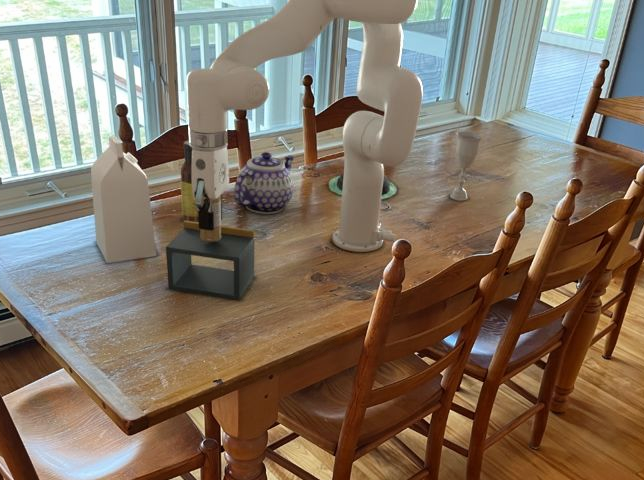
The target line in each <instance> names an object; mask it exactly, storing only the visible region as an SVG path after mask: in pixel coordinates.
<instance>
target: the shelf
mask: <svg viewBox="0 0 644 480" xmlns="http://www.w3.org/2000/svg"><path fill="white" fill-rule="evenodd" d="M200 235H201V229H200V228H199V222H192V221H185V220H183V228H182V229H181V230H180V231H179V232H178V233H177V234H176V235H175V236H174V237H173V238H172V240H171V241H170V242H169V243H168V244H167V245H166V246H165V255H166V271H167V285H168V290H171V291H177V292H184V293H190V294H195V295H196V294H197V295H203V296H209V297H216V298H221V299H222V298H223V299H228V300H235V301H240V300H241V299H242V297H243V295H245V292H246V291H247V290H248V288H249V286H250V285H251V283H252V282H253V280H254V279H255V230H254V229H250V228H249V229H248V228H240V227H234V226H228V225H221V239H220V240H218V241H214V242H207V241H204V240H202V239H201V237H200ZM192 256H195V257H203V258H209V259H214V260H215V259H216V260H223V261H228V262H233V270H232V269H225V268H218V267H211V266H205V265H197V264H193V263H192Z"/></svg>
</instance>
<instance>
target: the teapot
mask: <svg viewBox="0 0 644 480" xmlns="http://www.w3.org/2000/svg"><path fill="white" fill-rule="evenodd" d="M272 156H273V155H272V154H271V153H270V152H268V151H264V152H262V153H261V154H260V156H256V157H252V158H249V159H248V160H247V161H246V164H245V165H244V166H243V167H242V168H241V169H240V170H239V171H238V174H237V178H236V180H235V184H234V188H233V189H234V190H233V197H234V201H235V202H236V204H237V205H239V206H240V207H245V208H246V209H247V210H249V211H251V212H253V213H255V214H261V215H269V214H270V215H272V214H277V213H279V212H281V211H282V210H283V208H284V207H286V206H287V205H288V204H290V202H291V200H292V198H293V194H294V179H293V175H292V173H291V172H292V171H291V170H292V164H293V160H294V159H295V156H294V155H289V154H287V155H285V157H284V158H283V160H282V159H279V158H276V157H272Z"/></svg>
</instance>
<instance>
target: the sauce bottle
mask: <svg viewBox="0 0 644 480" xmlns="http://www.w3.org/2000/svg"><path fill="white" fill-rule="evenodd" d="M183 150H184V162H183V164H182V165H181V167H180V198H181V199H180V200H181V214H182V219H183V221H192V222H199V219H198V207H197V206H196V205H195V199H196V197H194V196H193V192H192V147H190V145H189V140H185V141H184V142H183Z"/></svg>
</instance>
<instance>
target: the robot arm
mask: <svg viewBox="0 0 644 480" xmlns="http://www.w3.org/2000/svg"><path fill="white" fill-rule="evenodd" d="M417 7H418V0H288V2H286V3H285V4H284V6H283V7H282V8H281V9H280V10H279V11H278V12H277V13H276V14H275V15H273V16H272V17H271V18H268V19H266V20H265V21H263V22H261V23H259V24H257V25H256V26H254V27H252V28H250V29H249V30H246V31H244V32H243V33H242V34H240V35H239V36H237V37H236V38H235V39H233V40H232V41H231V42H230V43H229V44H228V45H227V46H226V47H225V48H224V49H223V50H222V52H221V53H220V54H219V55H218V56H217V57H216V58H215V60H213V62H212V63H211V65H210V66H209V68H196V69H193V70H190V71H189V72H188V74H187V75H186V101H187V103H186V105H187V124H188V141H189V145H190V147H192V192H193V196H194V197H196V199H195V205H196V206H197V207H198V219H199V228H200V229H204V230H211V231H213V230H214V212H213V211H212V203H213V200H216V199H217V198H218V197H219V196H220V200H221V221H222V220H223V194H224V192H225V191H226V190H227V189H228V187H229V186H230V167H229V153H228V145H229V144H228V143H229V142H228V140H229V139H228V135H229V134H228V111H229V110H231V111H233V110H234V111H235V110H236V111H252V110H255V109H258V108H261V107H262V106H263V105H264V104H265V103H266V102H267V100H268V98H269V96H270V84H269V81H268V79H267V78H266V77H265V76H264V74H263V73H261V72H260V71H259V70H256V68H258V67H259V66H260V65H262V64H264V63H267V62H268V61H272V60H275V59H277V58H283V57H284V58H285V57H289V56H294V55H297V54H300V53H303V52H305V51H306V50H307V49H308V48H309V47H310V46H311V45H312V44H313V43H314V42H315V40H316V39H317V38H318V37H319V36H320V35H321V34H322V33H323V31H325V30H326V28H327V27H329V26H330V24H331V23H333V21H334V20H335V19H337V18H338V19H342V20H346V21H350V22H356V23H360V24H361V28H362V33H363V34H362V35H363V37H362V38H363V39H362V40H363V41H362V50H361V55H360V61H359V68H358V73H357V81H356V96H357V98H358V100H359V101H361V103H362V104H365V105H367V106H369V107H371V108H373V109H375V110H379V111H381V112H384V115H381V114H378V113H376V112H373V111H368V110H357V111H356V112H354V113H352V114H350V115H349V116H348V117H347V119H346V120H345V122H344V125H343V128H342V148H343V157H344V158H343V160H344V161H343V163H344V164H343V173H344V178H343V190H342V195H341V203H340V204H341V205H340V217H339V228H338V229H337V230H336V231H334V233H332V238H331V239H332V242H333V244H334V245H335V246H336V247H338V248H340V249H342V250H345V251H349V252H356V253H368V252H373V251H376V250H378V249H379V248H381V247H382V246H383V245H384V241H386V242H390V243H395V240H396V234H395V233H392V232H393V231H392V230H389V229H383V228H381V225H382V224H381V222H379V221H380V214H381V203H382V199H381V196H382V187H383V180H384V174H385V169H384V166H387V167H390V168H391V167H393V168H394V167H398V166H400V165H402V164H403V163H404V162H406V160H407V159H408V158H409V156H410V154H411V151H412V149H413V146H414V142H415V138H416V134H417V129H418V124H419V120H420V113H421V110H422V104H423V98H424V91H423V84H422V81H421V79H420V77H419V76H418V75H417V74H416V73H415V72H413V71H412V70H409V69H406V68H404V67H401V58H402V52H403V51H402V50H403V44H404V42H403V41H404V32H403V27H402V23H405V22H406V21H407V20H409V19H410V18H411V17H412V16H413V15H414V13H415V11H416V8H417ZM204 194H207V196H204ZM204 200H208V204H207V203H206V202H204Z"/></svg>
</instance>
